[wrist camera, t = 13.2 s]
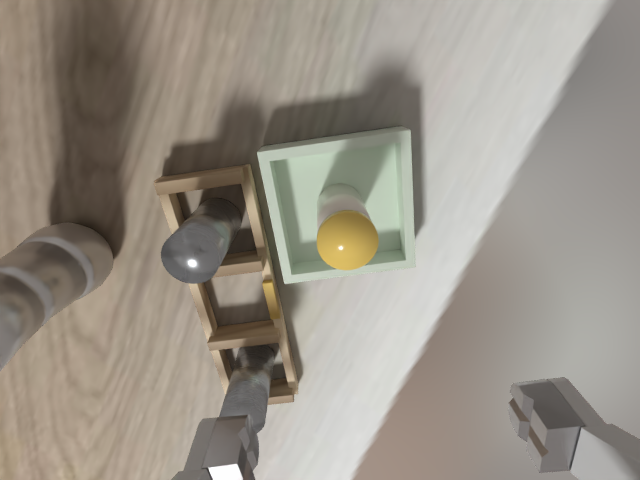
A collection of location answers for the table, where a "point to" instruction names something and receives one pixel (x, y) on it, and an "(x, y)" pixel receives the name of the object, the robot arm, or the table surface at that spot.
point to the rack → (234, 265)
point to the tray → (348, 168)
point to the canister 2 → (250, 384)
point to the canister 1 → (201, 241)
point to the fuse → (344, 228)
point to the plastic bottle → (47, 279)
